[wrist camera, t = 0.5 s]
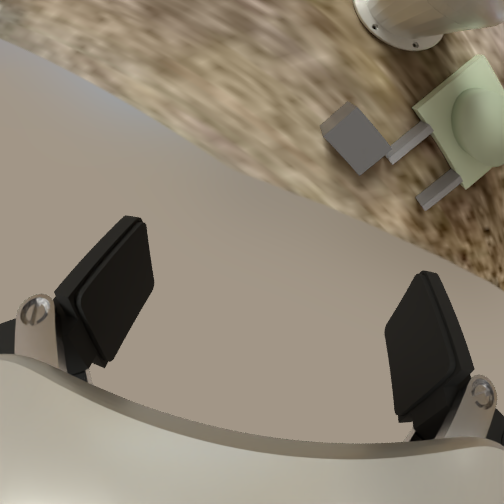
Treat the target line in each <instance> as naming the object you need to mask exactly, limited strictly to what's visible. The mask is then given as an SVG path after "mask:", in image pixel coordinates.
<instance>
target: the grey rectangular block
mask: <svg viewBox="0 0 504 504" xmlns="http://www.w3.org/2000/svg"><path fill="white" fill-rule="evenodd" d="M320 128H321V131H322V134H323V137H324V138H325V139H326V140H327V141H328V142H329V143H330V144H331V145H332V146H333V147H334V148H335V149H336V150H337V151H338V152H339V154H340V155H341V156H342V157H343V158H344V159H345V160H346V161H347V162H348V163H349V165H350V166H351V167H352V168H353V169H354V170H355V171H356V172H357V174H358V175H359V176H360V175H361V174H363V173H364V172H365V171H366V170H368V169H369V168H370V167H371V166H372V165H374V164H375V163H376V162H377V161H379V160H380V159H381V158H382V157H383V156H385V155H386V154H387V153H388V152H390V151H391V150H392V148H391V147H390V145H389V144H388V143H387V142H386V140H385V139H384V138H383V137H382V135H381V134H380V133H379V132H378V130H377V129H376V128H375V127H374V126H373V124H372V123H371V122H370V121H369V120H368V119H367V117H366V116H365V115H364V114H363V113H362V112H361V111H360V110H359V108H358V107H356V106H355V105H353V104H351V103H349V102H348V101H347V102H346V103H345V104H344V105H343V106H342V107H340V108H339V109H338V110H337V111H336V112H335V113H334V114H332V115H331V116H330V117H329V118H328V119H327V120H326V121H325V122H323V123H322V124H321V125H320Z"/></svg>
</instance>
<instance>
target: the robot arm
mask: <svg viewBox="0 0 504 504" xmlns="http://www.w3.org/2000/svg"><path fill="white" fill-rule="evenodd" d="M353 5H354V8H355V11H356V13H357V15H358V17H359V19H360V20H361V22H362V23H363V24H364V26H365V27H366V28H367V29H368V30H369V31H370V32H371V33H372V34H373V35H374V36H376V37H377V38H378V39H380V40H381V41H383V42H385V43H386V44H388V45H390V46H393V47H395V48H398V49H402V50H406V51H421V50H426V49H429V48H431V47H433V46H435V45H436V44H437V43H438V42H439V41H440V40H441V38H442V37H443V34H446V33H451V32H457V31H464V30H471V29H479V28H487V27H493V26H497V25H499V24H501V23H502V22H504V0H353ZM372 26H374V27H375V30H374V29H373V28H372ZM413 44H414V45H415V47H413ZM153 287H154V277H153V271H152V264H151V257H150V251H149V244H148V235H147V227H146V224H145V223H143V221H142V219H141V218H139V217H133V216H124V217H123V218H122V219H121V220H120V221H119V222H118V223H117V224H116V225H115V226H114V227H113V228H112V229H111V230H110V231H109V232H108V233H107V234H106V235H105V236H104V237H103V238H102V239H101V240H100V241H99V242H98V243H97V244H96V245H95V246H94V247H93V248H92V249H91V250H90V251H89V253H88V254H87V255H86V256H85V257H84V258H83V259H82V260H81V261H80V262H79V264H78V265H77V266H76V267H75V268H74V269H73V270H72V271H71V272H70V274H69V275H68V276H67V277H66V278H65V279H64V281H63V282H62V283H61V284H60V285H59V287H58V288H57V289H56V290H55V291H54V293H55V295H56V297H55V298H54V299H53V300H52V298H51V297H50V296H48V295H46V294H36V295H33V296H31V297H29V298H28V299H26V300H25V301H24V302H23V303H22V304H21V305H20V307H19V309H18V311H17V315H16V319H13V320H10V321H7V322H4V323H1V324H0V504H504V416H503V415H502V414H501V413H500V412H499V411H498V410H497V409H496V405H497V393H496V390H495V387H494V385H493V383H492V382H491V381H490V380H489V379H488V378H487V377H485V376H483V375H475V376H473V377H472V378H471V376H470V373H471V372H472V371H473V370H474V366H473V363H472V360H471V356H470V353H469V350H468V347H467V344H466V341H465V339H464V336H463V333H462V330H461V327H460V325H459V322H458V320H457V317H456V314H455V312H454V310H453V307H452V305H451V302H450V300H449V298H448V295H447V293H446V291H445V289H444V286H443V284H442V282H441V280H440V278H439V276H438V274H437V273H433V272H428V271H421V272H420V273H419V274H416V276H415V277H414V279H413V281H412V282H411V284H410V286H409V288H408V289H407V292H406V293H405V295H404V296H403V298H402V300H401V302H400V303H399V305H398V307H397V308H396V310H395V312H394V313H393V315H392V316H391V318H390V320H389V321H388V323H387V324H386V327H385V339H386V345H387V352H388V358H389V365H390V372H391V381H392V389H393V399H394V410H395V413H396V415H398V420H399V423H403V422H412V421H413V428H412V430H411V431H410V433H409V434H408V436H407V437H406V439H405V440H404V441H403V442H397V443H375V444H345V443H323V442H309V441H298V440H288V439H281V438H273V437H266V436H260V435H254V434H248V433H242V432H238V431H233V430H228V429H223V428H219V427H214V426H210V425H206V424H203V423H199V422H195V421H191V420H188V419H184V418H181V417H177V416H174V415H171V414H167V413H164V412H161V411H158V410H155V409H152V408H149V407H146V406H144V405H141V404H138V403H135V402H133V401H130V400H127V399H125V398H122V397H120V396H117V395H115V394H113V393H110V392H108V391H106V390H103V389H101V388H98V387H96V386H94V385H93V384H92V380H91V376H90V371H89V367H90V365H91V364H92V363H94V364H96V365H99V366H101V367H103V368H105V367H106V365H107V363H108V361H109V362H110V361H112V360H113V359H114V357H115V355H116V354H117V352H118V350H119V348H120V346H121V344H122V343H123V340H124V339H125V337H126V335H127V333H128V332H129V330H130V328H131V326H132V325H133V323H134V321H135V319H136V318H137V316H138V314H139V312H140V311H141V309H142V307H143V305H144V304H145V302H146V300H147V299H148V297H149V295H150V294H151V292H152V290H153Z"/></svg>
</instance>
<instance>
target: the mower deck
mask: <svg viewBox="0 0 504 504" xmlns="http://www.w3.org/2000/svg"><path fill="white" fill-rule="evenodd" d="M412 109H413V110H414V111H415V113H416V114H417V115H418V117H419V118H420V120H421V121H420V122H419V123H418V124H416V125H415V126H414V127H413V128H411V129H410V130H409V131H408V132H407V133H405V134H404V135H403V136H402V137H401V138H399V139H398V140H397V141H396V142H394V143H393V144H392V145H391V146H390V147H391V148H392V150H391V151H390V152H388V153H387V154H386V155H385V156H386V158H387V159H388V160H389V161H390V162H391V163H392V165H393V164H394V163H396V162H397V161H398V160H399V159H400V158H402V157H403V156H404V155H405V154H407V153H408V152H409V151H410V150H412V149H413V148H414V147H415V146H416V145H418V144H419V143H420V142H421V141H422V140H424V139H425V138H426V137H427V136H429V135H430V134H431V136H432V137H433V139H434V140H435V142H436V143H437V145H438V147H439V148H440V150H441V152H442V153H443V155H444V157H445V158H446V160H447V162H448V163H449V165H450V167H451V169H450V170H449V171H447V172H446V173H445V174H444V175H442V176H441V177H440V178H439V179H438V180H436V181H435V182H434V183H433V184H431V185H430V186H429V187H428V188H426V189H425V190H424V191H422V192H421V193H420V194H419V195H417V196H416V197H415V198H416V199H417V201H418V202H419V203H420V205H421V206H422V208H423V209H424V210H425V211H426V210H428V209H429V208H430V207H432V206H433V205H434V204H435V203H437V202H438V201H439V200H440V199H442V198H443V197H444V196H446V195H447V194H448V193H449V192H451V191H452V190H453V189H454V188H455V187H457V186H458V185H459V184H460V185H461V186H462V187H463V188H464V189H465V190H466V189H468V188H469V187H470V186H471V185H472V184H474V183H475V182H476V181H477V180H478V179H480V178H481V177H482V176H483V175H484V174H485V173H486V172H488V171H489V170H490V169H491V168H492V167H498V166H501V165H503V164H504V89H503V88H502V86H501V84H500V82H499V80H498V78H497V76H496V75H495V73H494V71H493V69H492V68H491V66H490V64H489V63H488V61H487V59H486V58H485V56H484V55H476V56H474V57H473V58H472V59H471V60H469V61H468V62H467V63H466V64H464V65H463V66H462V67H461V68H459V69H458V70H457V71H456V72H455V73H453V74H452V75H451V76H450V77H448V78H447V79H446V80H445V81H444V82H442V83H441V84H440V85H439V86H437V87H436V88H435V89H434V90H433V91H431V92H430V93H429V94H428V95H426V96H425V97H424V98H423V99H422V100H420V101H419V102H418V103H417V104H415V105H414V106H413V107H412Z"/></svg>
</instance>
